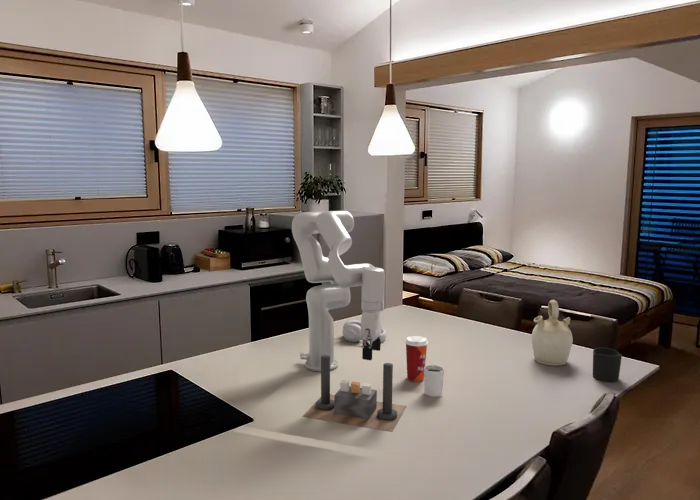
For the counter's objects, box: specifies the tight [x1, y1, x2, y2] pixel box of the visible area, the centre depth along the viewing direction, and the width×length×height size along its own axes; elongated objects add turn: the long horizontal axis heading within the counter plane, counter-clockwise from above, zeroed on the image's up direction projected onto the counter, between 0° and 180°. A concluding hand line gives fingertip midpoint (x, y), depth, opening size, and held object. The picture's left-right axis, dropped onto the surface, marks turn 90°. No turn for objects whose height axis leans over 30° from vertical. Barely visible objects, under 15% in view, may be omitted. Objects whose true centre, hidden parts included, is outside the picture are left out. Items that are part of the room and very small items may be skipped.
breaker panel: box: [302, 385, 408, 433], centre depth 163 cm, size 28×18×8 cm, turn 71°
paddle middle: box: [350, 381, 361, 394], centre depth 162 cm, size 2×1×3 cm, turn 71°
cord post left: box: [315, 355, 334, 411], centre depth 166 cm, size 6×6×16 cm
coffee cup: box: [404, 335, 429, 383], centre depth 193 cm, size 8×8×15 cm
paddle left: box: [339, 379, 350, 392], centre depth 163 cm, size 2×1×3 cm, turn 71°
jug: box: [531, 299, 574, 367], centre depth 212 cm, size 15×16×25 cm
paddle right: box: [361, 382, 372, 395], centre depth 161 cm, size 2×1×3 cm, turn 71°
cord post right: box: [377, 362, 397, 421], centre depth 159 cm, size 6×6×16 cm
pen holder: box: [592, 347, 623, 383], centre depth 195 cm, size 9×9×10 cm
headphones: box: [342, 319, 387, 343], centre depth 240 cm, size 18×8×20 cm
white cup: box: [423, 364, 445, 398], centre depth 177 cm, size 7×7×10 cm
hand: (371, 354), depth 178 cm, fingers open, 9 cm apart
